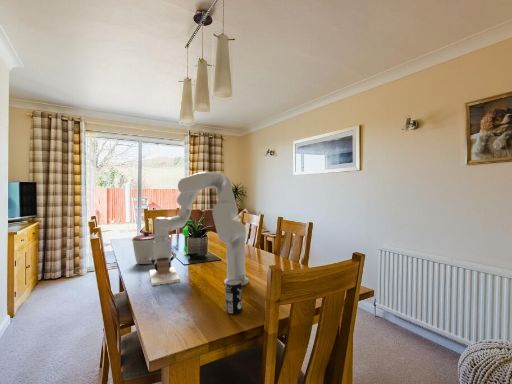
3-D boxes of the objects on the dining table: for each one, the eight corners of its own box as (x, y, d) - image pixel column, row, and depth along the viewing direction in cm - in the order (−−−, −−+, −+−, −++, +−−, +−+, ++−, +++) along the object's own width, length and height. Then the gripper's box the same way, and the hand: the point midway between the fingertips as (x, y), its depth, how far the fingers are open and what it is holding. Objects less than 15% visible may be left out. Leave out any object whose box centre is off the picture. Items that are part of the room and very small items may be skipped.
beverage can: (242, 307, 112) (241, 278, 112) (242, 315, 105) (241, 284, 105) (226, 308, 112) (225, 279, 111) (225, 315, 105) (224, 285, 105)
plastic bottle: (180, 254, 200) (179, 220, 200) (193, 251, 208) (192, 219, 207) (187, 256, 193) (186, 221, 193) (200, 253, 201) (199, 220, 200)
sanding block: (169, 273, 153) (169, 260, 153) (158, 275, 151) (157, 262, 151) (167, 268, 162) (167, 256, 162) (156, 269, 160) (156, 258, 160)
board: (180, 281, 144) (180, 278, 144) (151, 286, 138) (151, 283, 138) (174, 269, 166) (173, 266, 166) (149, 272, 160) (149, 270, 160)
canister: (150, 257, 193) (148, 228, 193) (167, 260, 184) (166, 229, 183) (126, 264, 178) (125, 232, 177) (144, 268, 169) (143, 234, 168)
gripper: (176, 235, 163) (177, 265, 164) (145, 239, 156) (146, 270, 157) (178, 238, 156) (179, 269, 157) (145, 241, 149) (147, 274, 150)
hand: (162, 269), depth 157 cm, fingers closed on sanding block, 6 cm apart
